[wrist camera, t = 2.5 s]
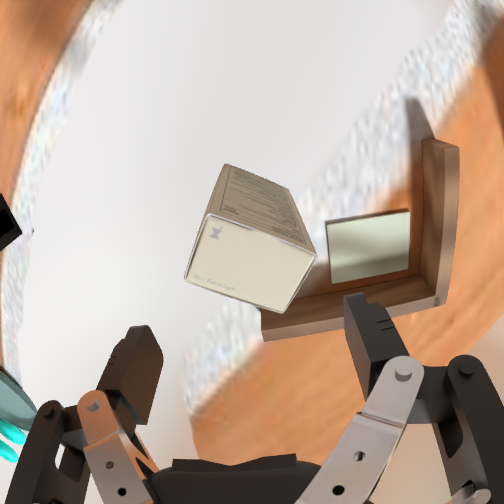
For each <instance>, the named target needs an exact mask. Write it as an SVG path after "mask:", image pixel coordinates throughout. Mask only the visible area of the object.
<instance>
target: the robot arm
mask: <svg viewBox="0 0 504 504" xmlns="http://www.w3.org/2000/svg"><path fill="white" fill-rule="evenodd" d="M343 303H344V329H345V335H346V340H347V343H348V346H349V349H350V352H351V355H352V358H353V362H354V365H355V368H356V371H357V375H358V378H359V381H360V385H361V388H362V391H363V395H364V398H365V402H366V403H365V405H364V407H363V409H362V410H361V412H357V413H356V414H355V415H354V417H353V418H352V420H351V422H350V423H349V425H348V427H347V428H346V430H345V432H344V433H343V435H342V436H341V438H340V440H339V441H338V443H337V444H336V446H335V448H334V449H333V451H332V452H331V454H330V455H329V457H328V458H327V460H326V462H325V463H324V464H323V466H320V465H317V464H314V463H310V462H305V461H297V457H296V453H294V454H286V455H277V456H268V457H262V458H258V459H255V460H252V461H248V462H245V463H241V464H237V465H233V466H229V465H223V464H219V463H214V462H209V461H205V460H195V459H193V460H192V459H173V463H172V467H169V468H165V469H162V470H159V469H158V467H157V466H156V465H155V463H154V462H153V460H152V458H151V457H150V455H149V453H148V451H147V449H146V448H145V446H144V444H143V443H142V440H141V439H140V437H139V435H138V433H137V432H136V431H135V428H136V424H138V425H147V422H148V418H149V414H150V410H151V407H152V403H153V399H154V395H155V392H156V388H157V384H158V380H159V377H160V374H161V370H162V366H163V353H162V350H161V349H160V346H159V345H158V343H157V341H156V339H155V337H154V335H153V333H152V331H151V329H150V327H149V326H148V325H142V326H132V327H130V328H129V330H128V332H127V334H126V337H125V339H122V340H121V341H120V342H119V343H118V344H117V345H116V346H115V347H114V349H113V352H112V354H111V356H110V357H111V358H109V361H108V363H107V365H106V367H105V369H104V372H103V374H102V376H101V379H100V381H99V383H98V386H97V388H96V390H93V391H90V392H88V393H86V394H85V395H83V396H82V397H81V399H80V400H79V402H78V405H74V406H70V407H66V408H64V407H63V406H62V405H61V404H60V403H59V402H58V401H56V400H51V401H48V402H46V403H45V404H43V405H42V406H41V407H40V408H39V410H38V412H37V414H36V416H35V419H34V421H33V424H32V426H31V429H30V431H29V434H28V436H27V439H26V441H25V444H24V446H23V449H22V452H21V455H20V457H19V460H18V463H17V466H16V469H15V472H14V475H13V478H12V481H11V484H10V487H9V490H8V494H7V497H6V500H5V504H84V500H85V495H86V491H87V486H88V482H89V477H90V473H92V476H93V478H94V481H95V484H96V486H97V488H98V491H99V493H100V495H101V498H102V500H103V503H104V504H374V503H372V502H371V501H370V498H371V496H372V495H373V493H374V491H375V489H376V487H377V486H378V484H379V482H380V481H381V479H382V477H383V475H384V473H385V471H386V469H387V467H388V465H389V463H390V461H391V459H392V456H393V455H394V452H395V450H396V448H397V446H398V444H399V442H400V440H401V438H402V435H403V433H404V431H405V428H406V426H407V424H428V423H432V427H433V430H434V433H435V436H436V440H437V443H438V446H439V450H440V454H441V457H442V461H443V464H444V468H445V472H446V476H447V480H448V484H449V488H450V493H451V498H450V499H449V500H447V501H446V502H445V503H444V504H504V406H503V404H502V402H501V400H500V397H499V395H498V393H497V391H496V389H495V387H494V385H493V383H492V381H491V379H490V377H489V376H488V373H487V372H486V370H485V368H484V366H483V364H482V363H481V362H480V360H478V359H477V358H475V357H474V356H470V355H459V356H456V357H455V358H453V359H452V360H451V361H450V362H449V364H448V366H441V367H428V366H424V365H422V364H421V363H420V362H419V361H418V360H417V359H415V358H413V357H410V355H409V353H408V351H407V349H406V347H405V345H404V343H403V341H402V339H401V337H400V335H399V333H398V331H397V329H396V328H395V325H394V323H393V321H392V320H391V317H390V316H389V314H388V312H387V310H386V309H385V308H384V307H382V306H381V305H380V304H379V303H377V302H376V303H372V304H368V302H367V300H366V298H365V296H364V294H363V293H362V292H361V293H356V294H351V295H346V296H344V298H343ZM60 444H62V445H63V446H64V447H65V449H64V453H63V456H62V459H61V463H60V466H59V469H57V467H56V465H55V457H56V454H57V451H58V448H59V445H60Z"/></svg>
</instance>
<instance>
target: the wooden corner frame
mask: <svg viewBox="0 0 504 504" xmlns="http://www.w3.org/2000/svg"><path fill="white" fill-rule="evenodd" d="M422 152H423V184H424V202H423V234H422V251H421V263H420V274H419V275H416V276H412V277H407V278H403V279H398V280H394V281H389V282H384V283H379V284H374V285H369V286H364V287H359V288H354V289H349V290H344V291H339V292H333V293H328V294H322V295H317V296H311V297H306V298H300V299H294V300H292V301H291V303H290V304H289V306H288V307H287V309H286V310H285V312H284V313H278V312H274V311H270V310H267V309H264V308H261V331H262V335H263V339H264V342H266V341H273V340H280V339H286V338H293V337H299V336H305V335H310V334H316V333H322V332H327V331H332V330H338V329H343V328H344V303H343V298H344V296H346V295H351V294H356V293H361V292H362V293H363V294H364V296H365V298H366V300H367V302H368V304H372V303H376V302H377V303H379V304H380V305H381V306H382V307H384V308H385V309H386V310H387V312H388V314H389V316H390V317H391V318H393V317H398V316H402V315H406V314H410V313H414V312H418V311H422V310H426V309H429V308H433V307H437V306H440V305H444V304H446V300H447V295H448V289H449V283H450V277H451V271H452V264H453V257H454V249H455V240H456V230H457V218H458V202H459V147H457V146H454V145H452V144H449V143H446V142H443V141H440V140H437V139H428V140H422ZM326 225H327V235H328V245H329V256H330V268H331V281H332V284H335V283H340V282H346V281H351V280H356V279H361V278H366V277H371V276H376V275H381V274H386V273H391V272H396V271H401V270H406V269H408V259H409V239H410V212H409V211H405V212H399V213H393V214H386V215H380V216H374V217H368V218H362V219H356V220H350V221H344V222H338V223H332V224H326Z"/></svg>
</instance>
